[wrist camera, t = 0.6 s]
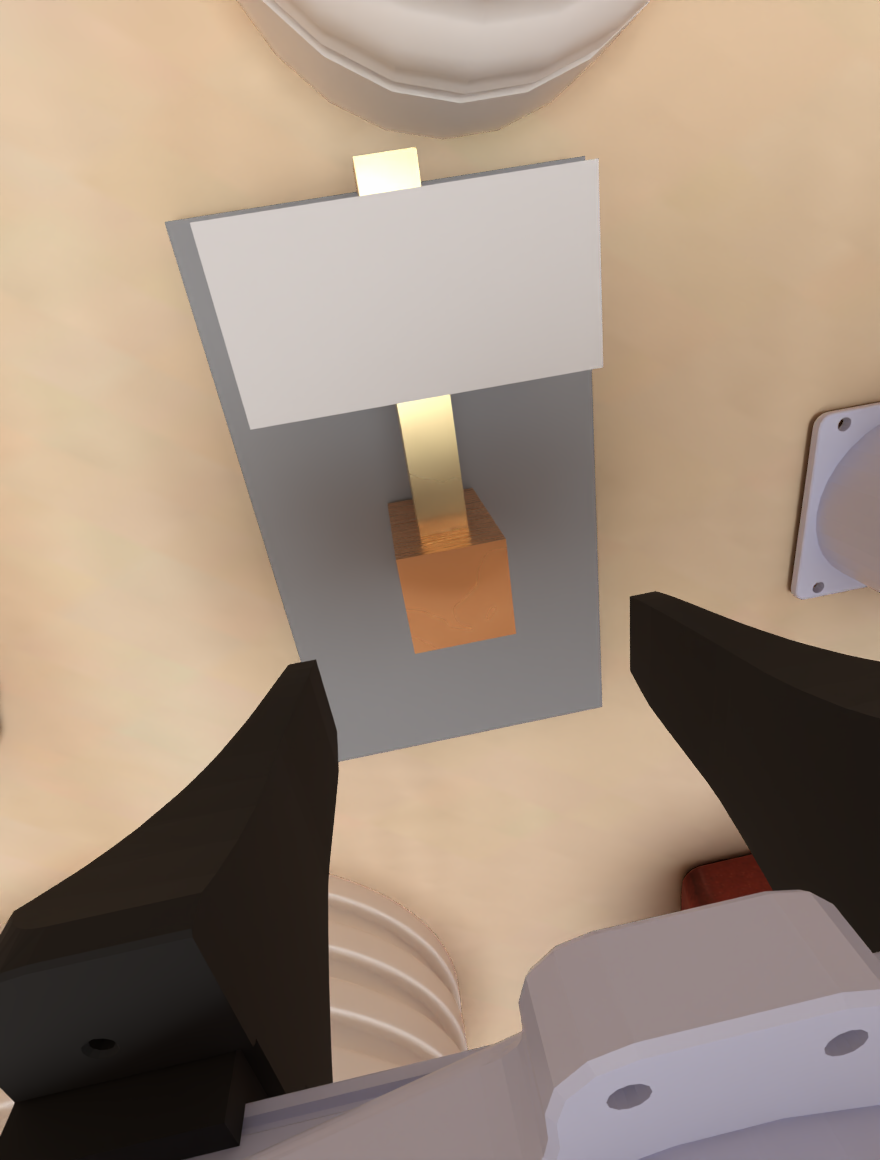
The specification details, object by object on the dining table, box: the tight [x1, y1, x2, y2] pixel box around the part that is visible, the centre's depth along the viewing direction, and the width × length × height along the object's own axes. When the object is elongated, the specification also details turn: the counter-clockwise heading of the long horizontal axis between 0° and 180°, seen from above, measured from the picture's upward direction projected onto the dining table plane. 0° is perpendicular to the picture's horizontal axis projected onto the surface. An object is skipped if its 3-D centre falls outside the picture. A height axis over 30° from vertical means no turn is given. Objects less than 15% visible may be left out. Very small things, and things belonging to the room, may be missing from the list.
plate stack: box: [0, 874, 468, 1135], centre depth 28 cm, size 28×28×12 cm
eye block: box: [165, 156, 603, 762], centre depth 18 cm, size 12×20×7 cm, turn 9°
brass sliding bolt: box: [353, 147, 516, 654], centre depth 16 cm, size 3×12×5 cm, turn 9°
